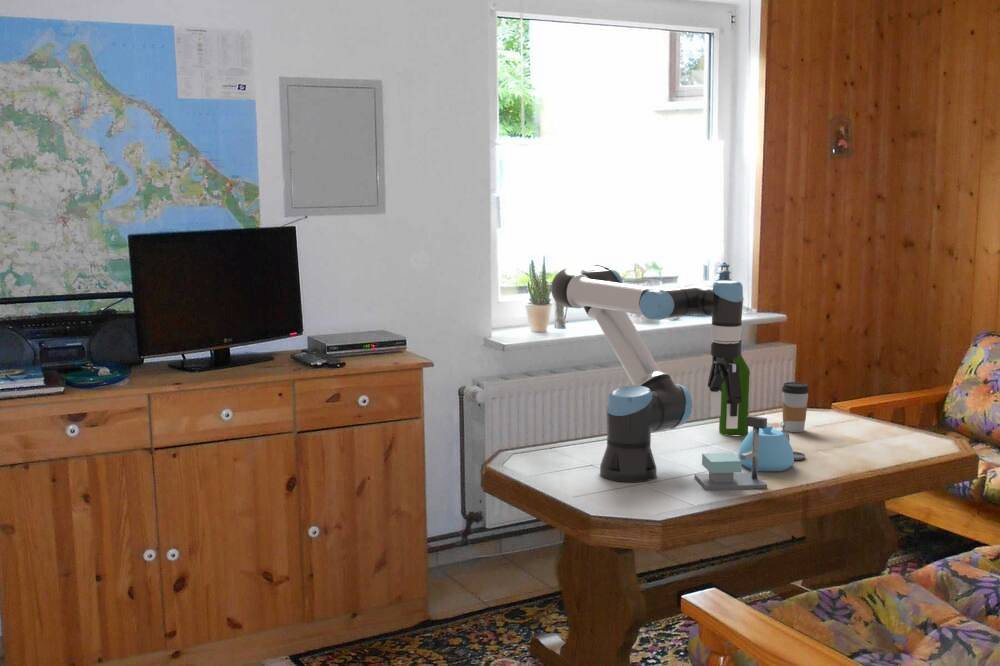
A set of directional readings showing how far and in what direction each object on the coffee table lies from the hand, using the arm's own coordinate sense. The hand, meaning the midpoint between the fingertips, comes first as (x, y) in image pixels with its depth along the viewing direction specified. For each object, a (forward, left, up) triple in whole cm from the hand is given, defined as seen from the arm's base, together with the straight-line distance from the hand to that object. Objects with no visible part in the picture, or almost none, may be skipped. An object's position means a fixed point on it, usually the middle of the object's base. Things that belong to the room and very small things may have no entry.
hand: (723, 422), depth 255 cm
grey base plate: (+2, 0, -16) cm, 17 cm away
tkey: (+7, -2, -15) cm, 17 cm away
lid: (0, 0, -12) cm, 12 cm away
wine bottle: (+20, +52, -17) cm, 58 cm away
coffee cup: (+40, +53, -17) cm, 69 cm away
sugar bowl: (+17, +15, -17) cm, 28 cm away
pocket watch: (+27, +23, -17) cm, 39 cm away
